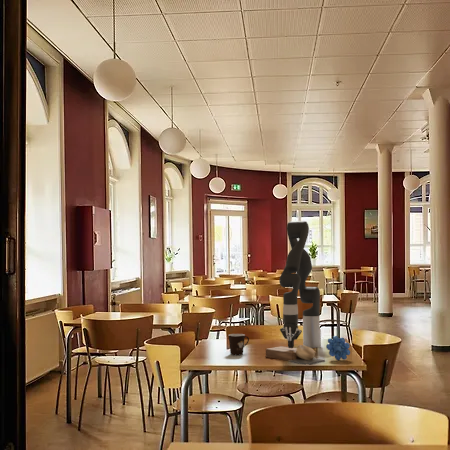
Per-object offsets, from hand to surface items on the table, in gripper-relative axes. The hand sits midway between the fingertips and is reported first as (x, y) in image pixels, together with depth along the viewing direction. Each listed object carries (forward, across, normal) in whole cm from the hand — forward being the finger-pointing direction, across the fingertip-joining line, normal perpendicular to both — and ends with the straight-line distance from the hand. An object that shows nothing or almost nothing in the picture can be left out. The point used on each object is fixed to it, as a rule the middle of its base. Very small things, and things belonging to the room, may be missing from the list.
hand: (290, 347), depth 317 cm
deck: (+5, +2, 0) cm, 6 cm away
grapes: (+5, -21, -11) cm, 24 cm away
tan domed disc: (+2, -10, +1) cm, 10 cm away
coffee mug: (+5, +26, +10) cm, 29 cm away
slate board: (+5, -12, +2) cm, 14 cm away
